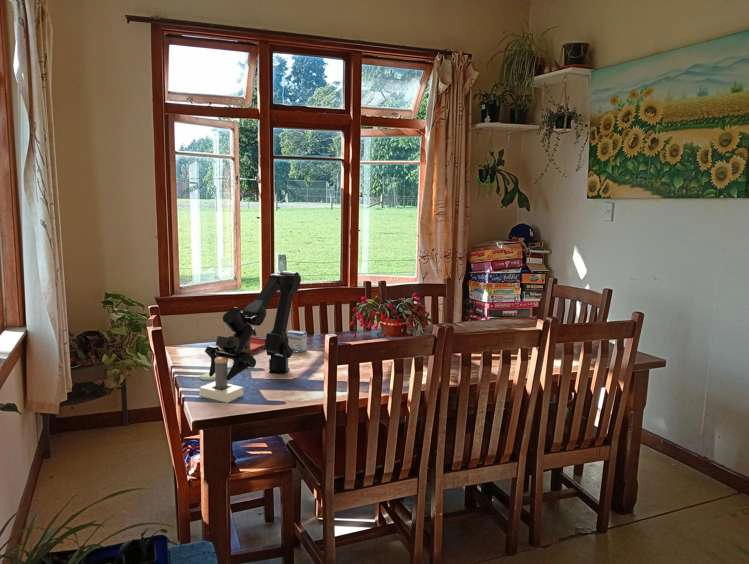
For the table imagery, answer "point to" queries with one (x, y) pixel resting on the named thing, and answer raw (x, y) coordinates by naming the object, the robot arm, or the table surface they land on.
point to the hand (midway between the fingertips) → (218, 377)
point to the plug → (221, 373)
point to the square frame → (221, 392)
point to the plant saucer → (254, 344)
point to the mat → (207, 377)
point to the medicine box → (297, 340)
